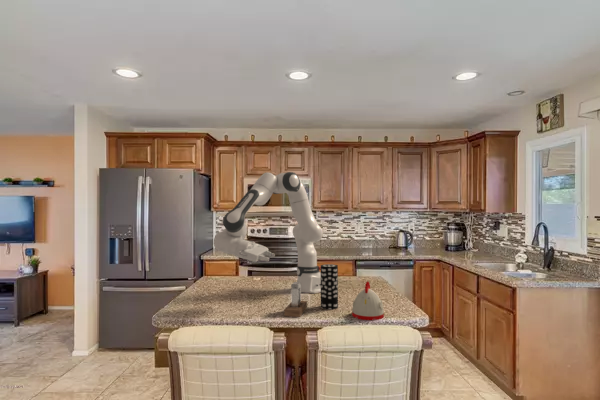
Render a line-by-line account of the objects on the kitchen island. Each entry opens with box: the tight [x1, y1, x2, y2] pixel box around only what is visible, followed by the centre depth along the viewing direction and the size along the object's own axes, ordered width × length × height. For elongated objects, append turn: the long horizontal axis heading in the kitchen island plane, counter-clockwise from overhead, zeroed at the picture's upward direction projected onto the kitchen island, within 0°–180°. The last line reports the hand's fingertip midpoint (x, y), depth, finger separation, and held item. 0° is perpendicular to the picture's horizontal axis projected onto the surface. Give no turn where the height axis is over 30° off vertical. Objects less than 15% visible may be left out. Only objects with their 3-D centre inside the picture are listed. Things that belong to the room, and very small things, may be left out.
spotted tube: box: [320, 263, 339, 310], centre depth 174 cm, size 8×8×20 cm
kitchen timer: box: [351, 281, 385, 321], centre depth 161 cm, size 14×14×15 cm
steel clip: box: [290, 281, 302, 308], centre depth 167 cm, size 6×3×13 cm, turn 168°
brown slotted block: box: [283, 300, 308, 318], centre depth 167 cm, size 16×7×3 cm, turn 167°
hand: (271, 257), depth 173 cm, fingers open, 8 cm apart
